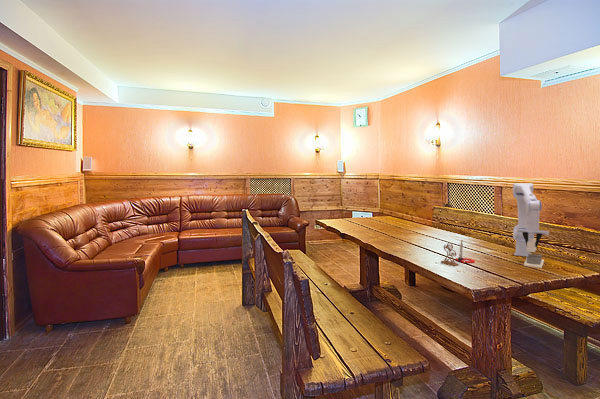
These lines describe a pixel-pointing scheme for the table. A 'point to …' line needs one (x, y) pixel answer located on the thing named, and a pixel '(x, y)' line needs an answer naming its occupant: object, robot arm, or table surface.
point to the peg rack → (534, 261)
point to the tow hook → (461, 256)
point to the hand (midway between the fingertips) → (531, 246)
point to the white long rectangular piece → (531, 245)
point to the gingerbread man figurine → (449, 257)
